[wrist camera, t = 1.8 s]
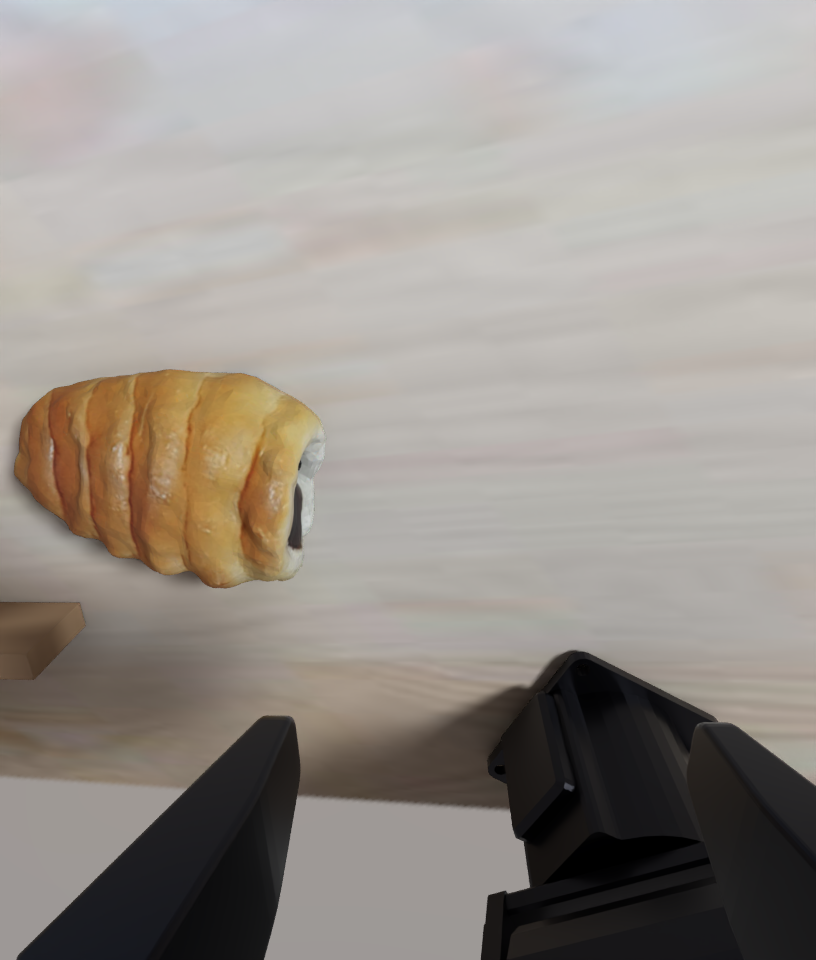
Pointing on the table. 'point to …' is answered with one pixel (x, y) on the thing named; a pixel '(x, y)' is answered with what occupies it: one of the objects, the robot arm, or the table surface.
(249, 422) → the pastry
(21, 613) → the wooden frame
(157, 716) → the table surface
